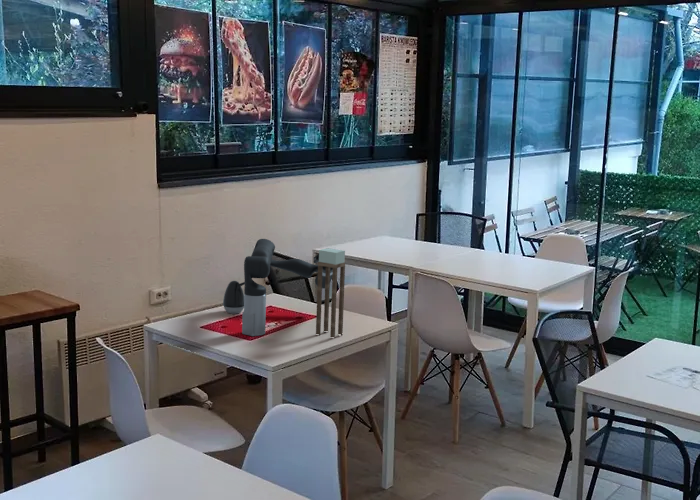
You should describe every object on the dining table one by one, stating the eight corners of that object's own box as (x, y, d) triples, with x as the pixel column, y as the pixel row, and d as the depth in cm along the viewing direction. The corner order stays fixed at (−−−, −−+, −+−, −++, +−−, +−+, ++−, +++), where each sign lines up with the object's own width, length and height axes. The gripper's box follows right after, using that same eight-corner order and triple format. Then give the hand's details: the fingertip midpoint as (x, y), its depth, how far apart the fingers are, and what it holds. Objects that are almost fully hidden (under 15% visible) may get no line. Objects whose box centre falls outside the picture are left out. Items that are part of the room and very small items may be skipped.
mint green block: (335, 264, 327) (335, 252, 326) (307, 259, 335) (307, 248, 334) (356, 259, 339) (356, 248, 339) (328, 255, 348) (328, 244, 347)
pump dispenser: (247, 314, 367) (248, 282, 364) (225, 315, 363) (226, 283, 360) (242, 309, 376) (242, 277, 373) (220, 310, 372) (221, 278, 369)
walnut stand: (332, 339, 332) (335, 264, 327) (315, 335, 337) (318, 261, 331) (342, 335, 338) (345, 262, 332) (325, 331, 343) (327, 259, 337)
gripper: (311, 257, 356) (313, 244, 340) (342, 258, 358) (346, 245, 342) (311, 273, 354) (313, 261, 338) (342, 274, 355) (346, 261, 339)
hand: (330, 253), depth 340 cm, fingers open, 3 cm apart
